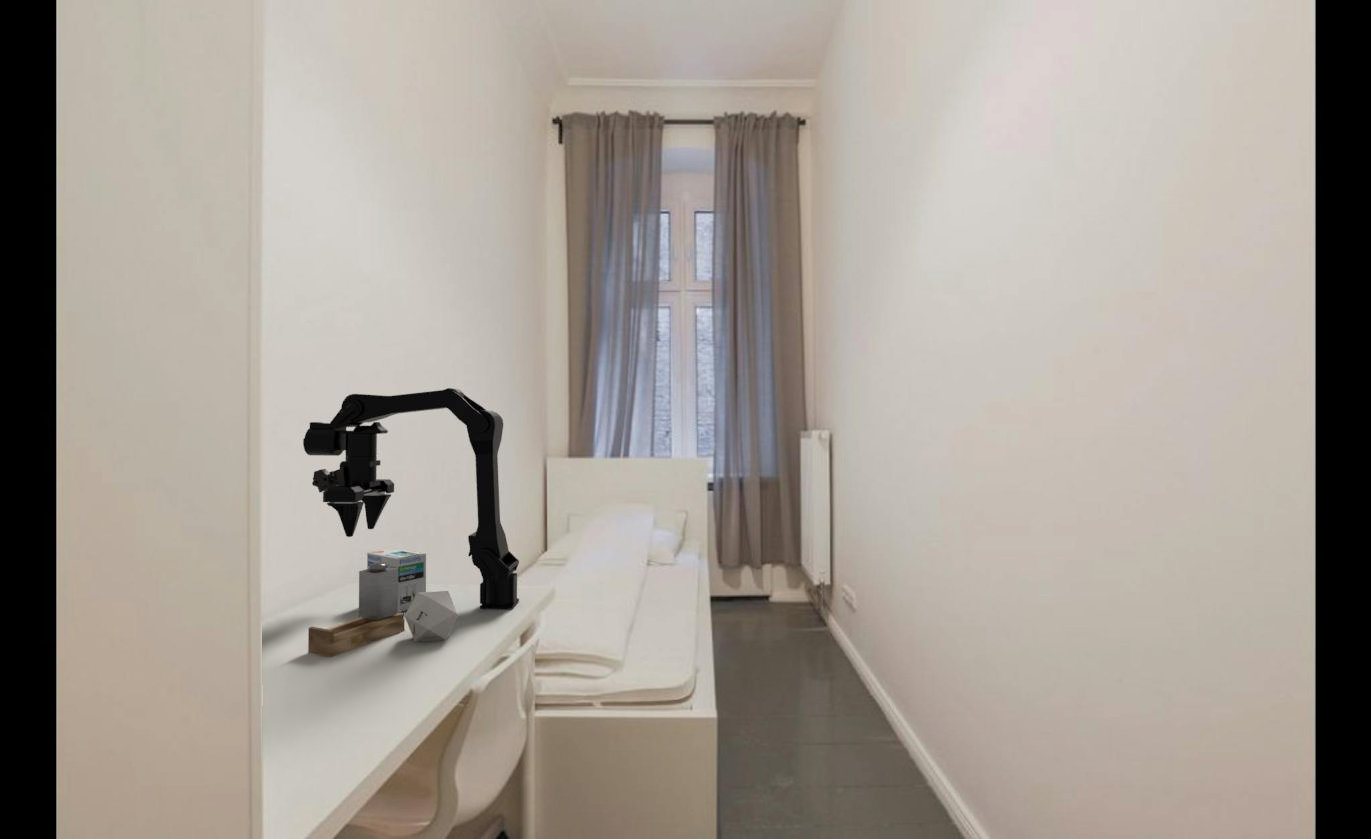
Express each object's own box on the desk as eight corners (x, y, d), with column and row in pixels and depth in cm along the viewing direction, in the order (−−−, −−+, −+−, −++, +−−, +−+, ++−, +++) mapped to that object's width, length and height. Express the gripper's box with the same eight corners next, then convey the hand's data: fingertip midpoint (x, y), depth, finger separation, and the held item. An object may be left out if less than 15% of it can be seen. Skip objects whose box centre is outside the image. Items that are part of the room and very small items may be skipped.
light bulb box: (427, 605, 137) (427, 552, 137) (397, 613, 131) (398, 558, 131) (394, 597, 142) (395, 546, 142) (365, 605, 137) (365, 552, 137)
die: (397, 640, 117) (392, 605, 111) (432, 605, 124) (428, 571, 118) (435, 661, 115) (431, 627, 109) (468, 625, 122) (466, 591, 116)
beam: (383, 626, 122) (383, 604, 122) (404, 630, 120) (405, 608, 120) (307, 652, 109) (308, 627, 109) (330, 657, 107) (330, 632, 107)
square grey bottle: (379, 615, 121) (380, 560, 121) (397, 618, 119) (398, 563, 119) (358, 622, 117) (359, 565, 117) (377, 625, 115) (377, 567, 115)
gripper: (343, 453, 146) (343, 525, 146) (295, 458, 127) (294, 540, 127) (395, 453, 146) (394, 525, 146) (354, 458, 127) (353, 541, 127)
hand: (360, 532), depth 136 cm, fingers open, 9 cm apart
